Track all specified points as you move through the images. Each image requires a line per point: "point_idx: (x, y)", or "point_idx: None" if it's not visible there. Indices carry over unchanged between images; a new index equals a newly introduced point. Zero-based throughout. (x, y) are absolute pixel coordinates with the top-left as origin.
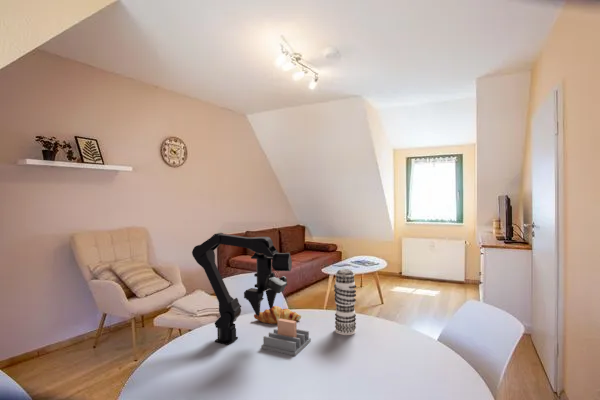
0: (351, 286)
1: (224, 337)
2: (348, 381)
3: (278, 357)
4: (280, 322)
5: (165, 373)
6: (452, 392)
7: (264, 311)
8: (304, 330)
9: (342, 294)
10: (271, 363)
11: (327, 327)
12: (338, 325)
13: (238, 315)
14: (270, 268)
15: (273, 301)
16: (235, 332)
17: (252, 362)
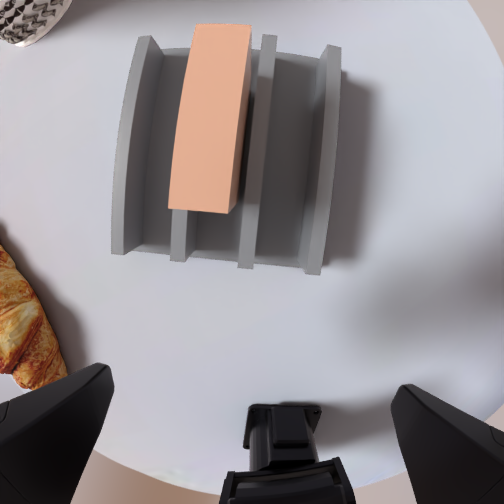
0: None
1: (313, 436)
2: None
3: (376, 140)
4: (232, 174)
5: (472, 407)
6: None
7: (30, 387)
8: (133, 60)
9: None
10: (427, 156)
11: (16, 79)
12: (44, 3)
13: (267, 490)
14: None
15: (49, 400)
16: (281, 428)
17: (437, 238)
